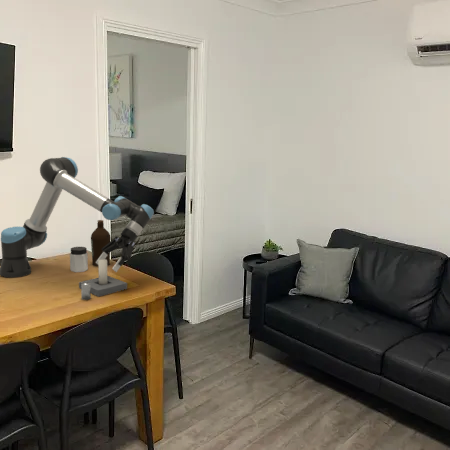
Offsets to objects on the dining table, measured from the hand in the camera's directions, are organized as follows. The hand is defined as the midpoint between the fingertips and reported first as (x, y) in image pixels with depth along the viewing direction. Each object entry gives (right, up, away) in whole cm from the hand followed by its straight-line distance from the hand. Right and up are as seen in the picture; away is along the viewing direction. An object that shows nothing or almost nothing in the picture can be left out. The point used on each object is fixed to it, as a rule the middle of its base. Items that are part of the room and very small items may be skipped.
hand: (105, 267), depth 227 cm
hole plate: (-2, -10, +1) cm, 10 cm away
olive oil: (-13, -2, +42) cm, 44 cm away
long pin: (-2, -10, +1) cm, 10 cm away
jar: (-22, -4, +29) cm, 37 cm away
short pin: (-6, -13, -12) cm, 18 cm away
